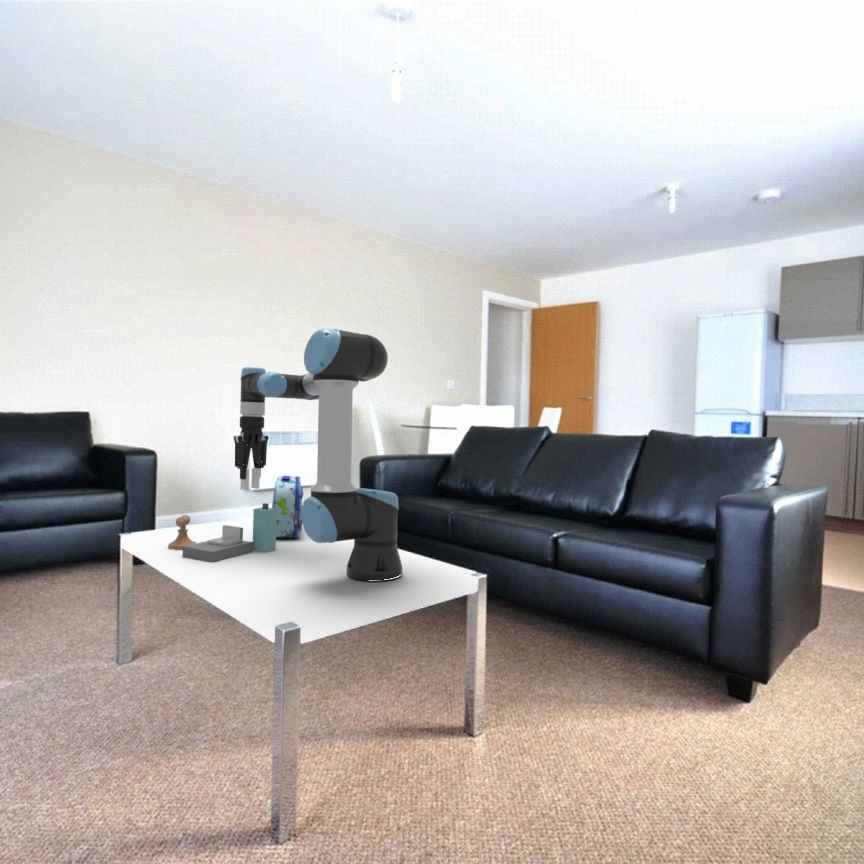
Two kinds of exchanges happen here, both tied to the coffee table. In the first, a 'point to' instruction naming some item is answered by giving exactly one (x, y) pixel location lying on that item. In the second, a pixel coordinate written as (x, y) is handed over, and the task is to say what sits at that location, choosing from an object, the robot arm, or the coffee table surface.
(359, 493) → the robot arm
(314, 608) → the coffee table surface
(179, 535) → the brown chess pawn
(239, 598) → the coffee table surface
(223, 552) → the socket
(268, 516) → the teal bottle
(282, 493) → the lunch box
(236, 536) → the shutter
